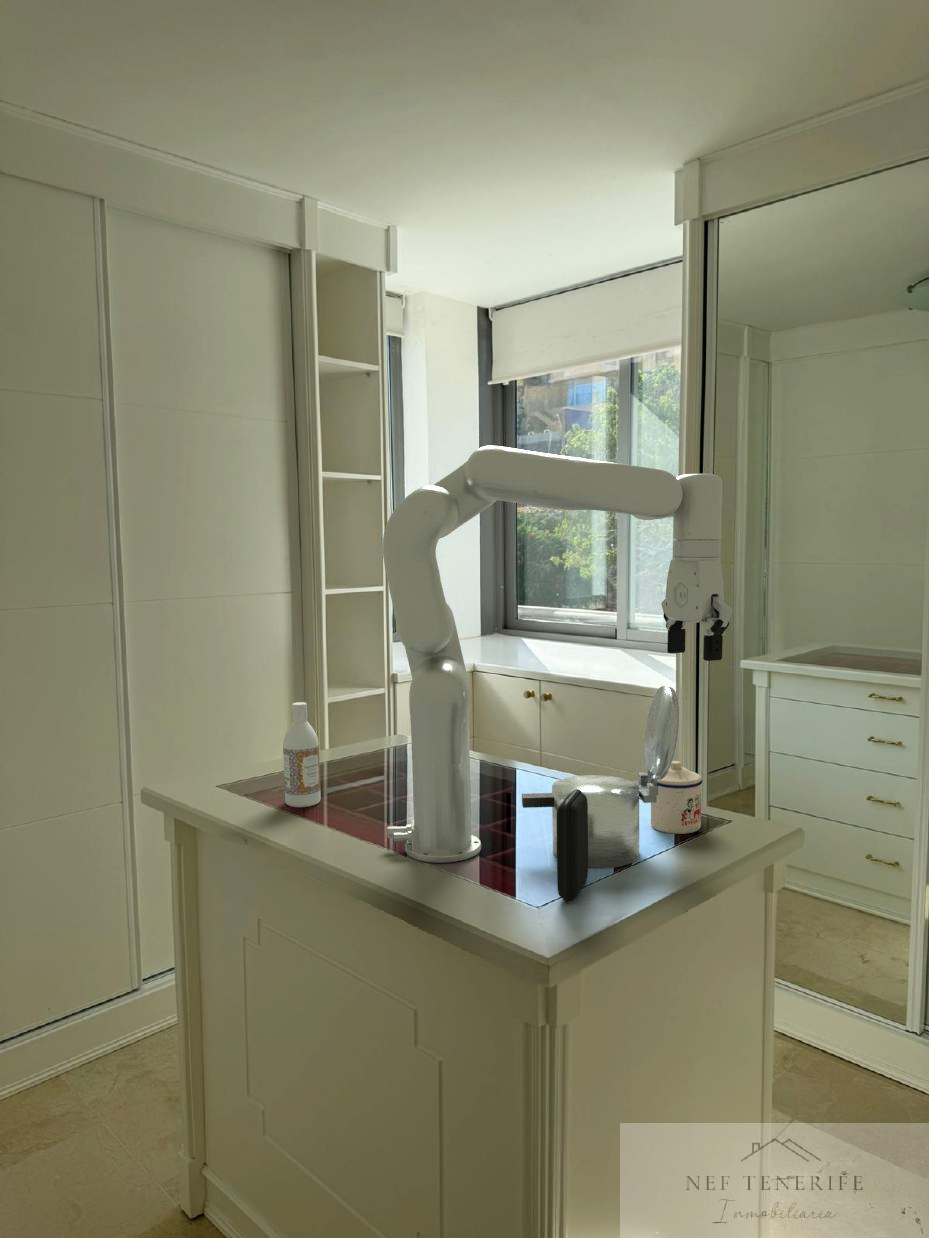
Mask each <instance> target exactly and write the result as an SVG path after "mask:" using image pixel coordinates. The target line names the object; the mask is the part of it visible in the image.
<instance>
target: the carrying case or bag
mask: <svg viewBox="0 0 929 1238" xmlns="http://www.w3.org/2000/svg"><path fill="white" fill-rule="evenodd" d="M556 877H557V879H556V881H557V882H556V883H557V884H556V885H557V887H556V888H557V893H558V896H559V897H560V898H561V899H562V900H563V902H566V903H568V904H569V903H572V902H573V901H574V900H575V899H577V898H578V897H579V894H580V893H581V891H582V889H583V888H584V886H585V884H586V882H587V881H588V877H589V868H588V802H587V797H586V796H585V794H583V793H582V792H581V791H580V790H579V789H576V790H574V791H573V792H572V793H570V794H569V795H568V796H567V797H566V798H565V800H564V801H563V802H562V803H561V804H560V805H559V807H558V810H557V858H556Z"/></svg>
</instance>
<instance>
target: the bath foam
mask: <svg viewBox="0 0 929 1238" xmlns="http://www.w3.org/2000/svg"><path fill="white" fill-rule="evenodd" d="M291 718H292V719H291V720H292V722H291V723H290V726H289V727H288V729H287V730H286V733H285V735H284V736H283V737H284V738H283V742H282V744H283V745H282V753H283V754H282V755H283V756H282V757H283V758H282V759H283V776H284V777H283V778H284V779H283V781H284V802H285V804H286V805H287V806H289V807H292V808H306V807H307V808H308V807H312V806H316V805H317V804H319V803H320V801H322V800H321V797H322V795H321V792H322V791H321V767H320V765H321V764H320V745H319V738H318V735H317V732H315V729H314V728H313V726H312V725H311V724H310V723H309V721H308V704H307V702H303V701H301V702H300V701H297V702H293V703H292V704H291Z"/></svg>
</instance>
